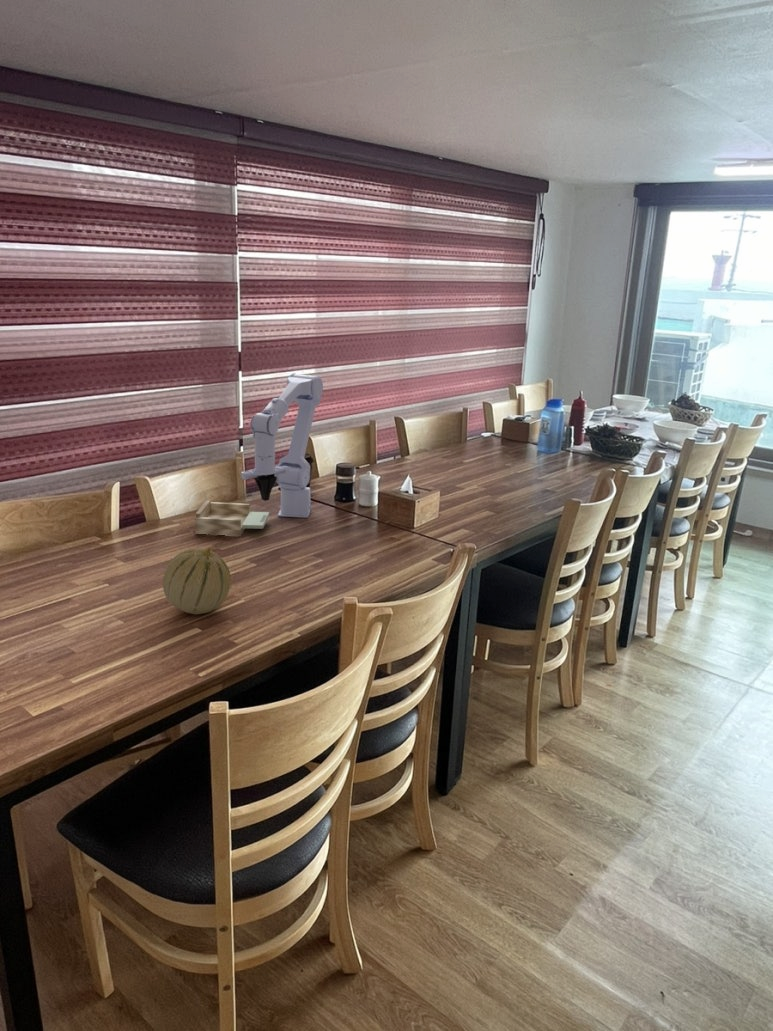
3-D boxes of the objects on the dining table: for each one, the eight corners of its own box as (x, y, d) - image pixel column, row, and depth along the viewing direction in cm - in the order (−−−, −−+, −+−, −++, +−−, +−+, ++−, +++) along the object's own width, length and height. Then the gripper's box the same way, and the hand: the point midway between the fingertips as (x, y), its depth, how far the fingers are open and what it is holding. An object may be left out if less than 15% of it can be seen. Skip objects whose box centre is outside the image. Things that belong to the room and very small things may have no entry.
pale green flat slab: (250, 514, 222) (269, 515, 222) (242, 528, 210) (262, 528, 210) (249, 511, 221) (269, 511, 221) (242, 524, 210) (262, 525, 210)
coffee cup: (315, 488, 257) (316, 453, 253) (311, 495, 249) (311, 459, 245) (291, 486, 258) (291, 451, 254) (286, 493, 250) (286, 457, 246)
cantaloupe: (152, 608, 165) (148, 546, 160) (209, 590, 174) (207, 532, 170) (186, 632, 155) (183, 567, 150) (244, 612, 165) (243, 551, 160)
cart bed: (250, 519, 224) (249, 500, 222) (240, 536, 209) (239, 517, 207) (208, 517, 224) (207, 498, 222) (195, 534, 209) (194, 514, 207)
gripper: (279, 449, 216) (280, 492, 221) (235, 454, 208) (236, 499, 212) (292, 454, 211) (291, 498, 216) (247, 460, 203) (247, 506, 207)
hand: (265, 499), depth 214 cm, fingers closed
